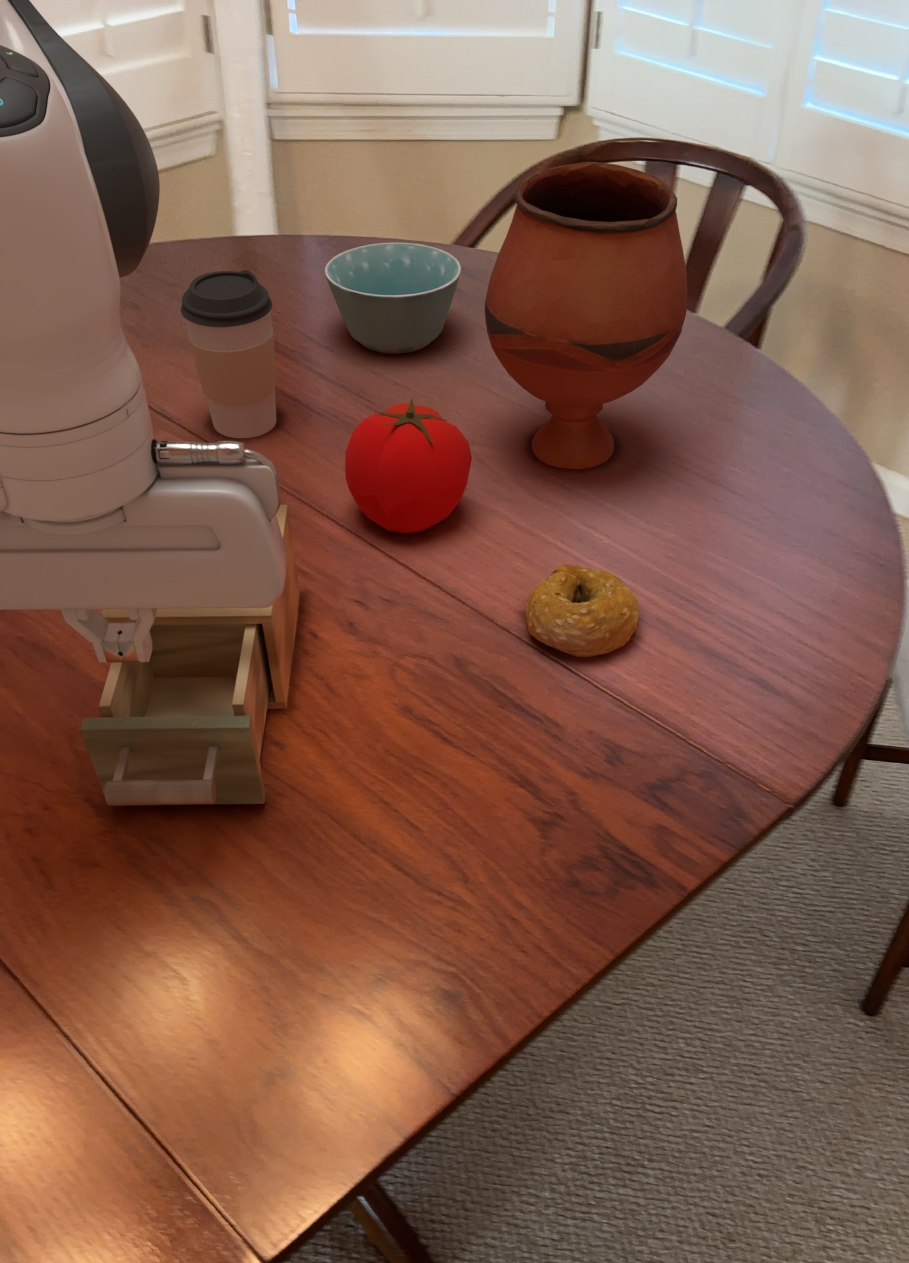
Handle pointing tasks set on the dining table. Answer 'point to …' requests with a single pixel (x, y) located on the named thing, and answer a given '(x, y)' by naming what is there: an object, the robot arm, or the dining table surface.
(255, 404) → the coffee cup
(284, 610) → the cabinet
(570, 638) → the bagel
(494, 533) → the dining table surface
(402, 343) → the bowl
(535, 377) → the goblet
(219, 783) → the tray drawer
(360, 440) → the tomato
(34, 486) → the robot arm
